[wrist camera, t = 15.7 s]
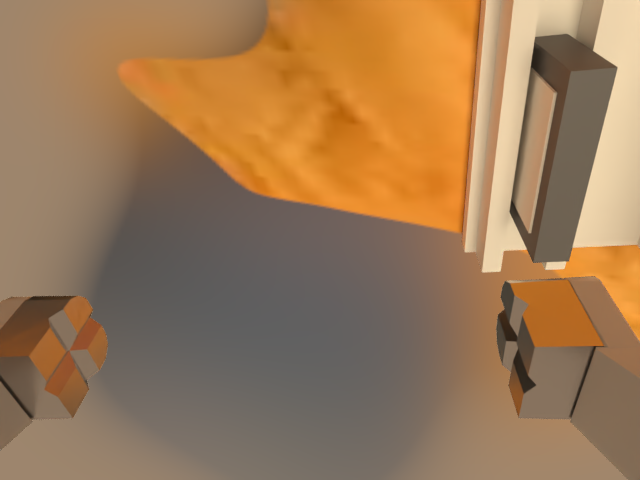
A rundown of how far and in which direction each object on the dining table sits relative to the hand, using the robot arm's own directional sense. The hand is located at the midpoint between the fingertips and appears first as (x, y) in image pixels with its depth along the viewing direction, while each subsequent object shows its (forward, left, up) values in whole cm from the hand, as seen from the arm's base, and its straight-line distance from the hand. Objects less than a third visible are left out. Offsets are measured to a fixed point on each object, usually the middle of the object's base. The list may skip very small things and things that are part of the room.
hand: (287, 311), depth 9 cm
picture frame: (+10, +14, -30) cm, 34 cm away
